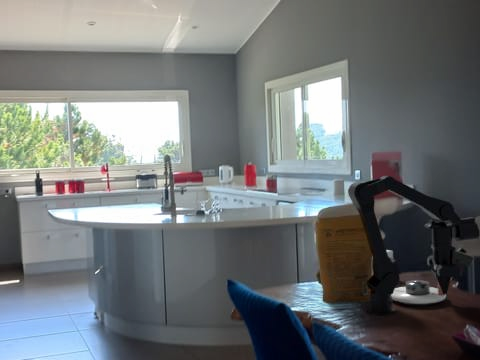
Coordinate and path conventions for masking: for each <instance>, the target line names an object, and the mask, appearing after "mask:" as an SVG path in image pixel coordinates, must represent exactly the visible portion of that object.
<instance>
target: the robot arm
mask: <svg viewBox="0 0 480 360" xmlns="http://www.w3.org/2000/svg"><path fill="white" fill-rule="evenodd" d="M387 191H388V192H390V193H392V194H394V195H396V196H398V197H400V198H402V199H404V200H406V201H408V202H410V203H412V204H414V205H416V206H417V207H419V208H420V209H421V210H422V211H423V212H424V213H426V215H428V216H429V217H431V218H432V219H429V220H428V222H427V223H425V224H424V228H426V229H430V230H431V241H432V243H431V245H430V248H431V249H432V255H429V256H428V257H427V259H426V262H427V264H426V265H427V266H429V267H431V266H432V265H433V268H431V269H430V270H431V271H432V274H433V276H434V279H435V280H436V282H437V286H438V285H439V287H440V289H441V291H442V293H443V294H446V295H448V291H449V286H450V282H451V279H452V278H453V277H463V271H462V268H461V267H460V266H458V265H457V263H458V264H461V265H465V266H467V267H469V268H471V267H472V264H473V262H474V259H475V256H473V255H472V254H470V253H467V250H466V249H465V248H463V247H459V248H456V247H455V246H454V245H453V241H454V240H453V239H455V241H457V242H463V241H464V242H465V241H466V242H467V241H477V240H478V239H479V237H480V229H479V226H478V224H477V222H476V218H475V217H472V216H471V217H466V218H465V217H464V218H460V216H459V215H458V214H457V213H456V212H455V208H454V205H453V204H452V203H451V202H450V201H446V200H443V199H440V198H437V197H432V196H429V195H427V194H424V193H423V192H421V191H419V190H417V189H416V188H413V187H411V186H409V185H408V184H406V183H404V182H401V181H400V180H398V179H396V178H395V177H393V176H390V175H383V176H381V177H379V178H375V179H371V180H368V181H364V182H361V181H355V182H353V183H351V184H350V185H349V188H348V189H347V193H348V197H349V199H350V200H351V203H352V204H353V206H354V207H355V209H356V210H357V212H358V215H360V217H361V220H362V223H363V227H364V230H365V233H366V236H367V240H368V243H369V246H370V250H371V253H372V256H373V265H372V267H373V275H372V277H371V278H370V279H369V280H368V281H367V282H366V283H367V286H368V288H369V289H371V292H370V301H369V302H370V308H369V309H366V313H369V314H373V315H379V316H388V315H390V314H393V313H394V312H397V308H393V299H392V296H391V294H393V292H394V289H395V288H396V286H397V285H398V284H399V282H400V281H401V280H400V278H401V277H400V275H401V274H402V273H401V272H400V269H399V265H398V262H397V260H396V259H394V258H393V259H392V258H390V257H388V255H387V251H386V250H387V247H386V244H385V242H384V239H383V236H382V233H381V232H382V231H381V229H380V225H379V222H378V219H377V217H376V213H375V204H376V203H375V197H376V196H378V195H381V194H383V193H384V192H387ZM434 219H435V220H440V221H434ZM446 222H447V224H446Z"/></svg>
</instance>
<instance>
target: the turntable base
mask: <svg viewBox="0 0 480 360" xmlns="http://www.w3.org/2000/svg"><path fill="white" fill-rule="evenodd" d="M399 303H400V304H402V303H403V305H406V304H407V305H408V306H414V307H415V306H416V307H419V306H421V307H422V306H431V305H432V306H433V305H434V304H437V303H438V302H435V303H426V304H413V303H404V302H399Z"/></svg>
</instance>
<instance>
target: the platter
mask: <svg viewBox="0 0 480 360" xmlns="http://www.w3.org/2000/svg"><path fill="white" fill-rule="evenodd" d="M429 287H430V294H428V295H422V296H415V295H409V294H407V293H406V286H401V287H395V289H394V292H393V294H391V296H392V301H396V302H398V301H399V303H400V302H404V303H413V304H426V303H435V302H437V303H440V302H442V301H444V300H445V299H446V298H447V294H443V293H442V291H441V289H440V287H439V285H438V284H437V288H436V287H432V286H429ZM435 304H436V303H435Z"/></svg>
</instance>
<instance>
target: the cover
mask: <svg viewBox="0 0 480 360" xmlns="http://www.w3.org/2000/svg"><path fill="white" fill-rule="evenodd" d="M404 285H405V286H404V287H406V293H407V294H409V295H415V296H422V295H428V294H430V287H431V286H430V281H427V280H423V279H413V280H407V281H405V284H404Z"/></svg>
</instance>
